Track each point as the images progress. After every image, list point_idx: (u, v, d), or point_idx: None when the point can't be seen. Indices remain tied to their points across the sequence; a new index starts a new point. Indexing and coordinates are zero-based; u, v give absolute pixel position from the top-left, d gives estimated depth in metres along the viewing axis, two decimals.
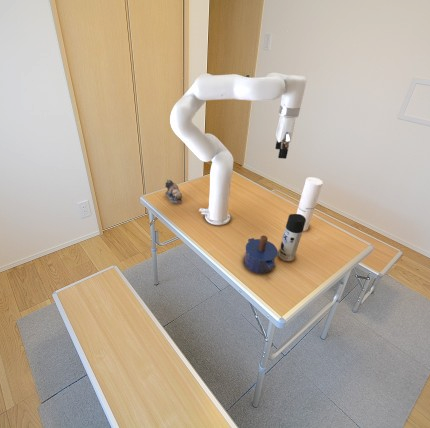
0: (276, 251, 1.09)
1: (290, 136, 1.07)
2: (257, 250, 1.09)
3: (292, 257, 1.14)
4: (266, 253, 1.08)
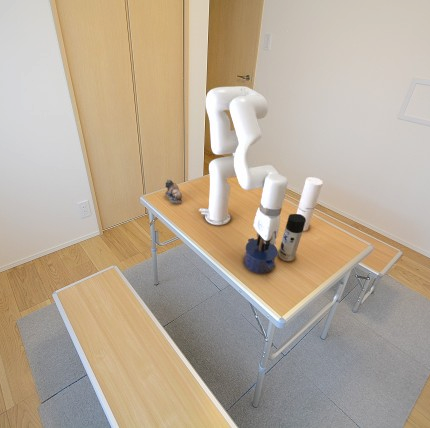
0: (276, 251, 1.09)
1: (277, 233, 1.00)
2: (257, 250, 1.09)
3: (292, 257, 1.14)
4: (266, 252, 1.08)
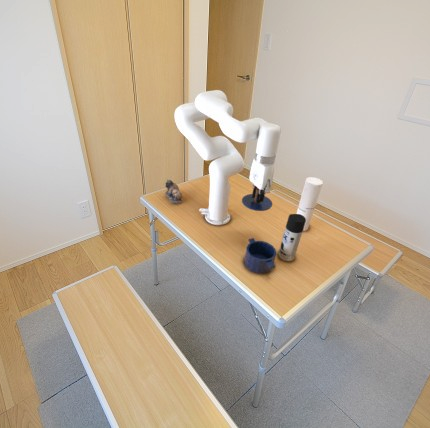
0: (271, 203, 1.15)
1: (271, 182, 1.06)
2: (253, 202, 1.15)
3: (292, 257, 1.14)
4: (261, 204, 1.14)
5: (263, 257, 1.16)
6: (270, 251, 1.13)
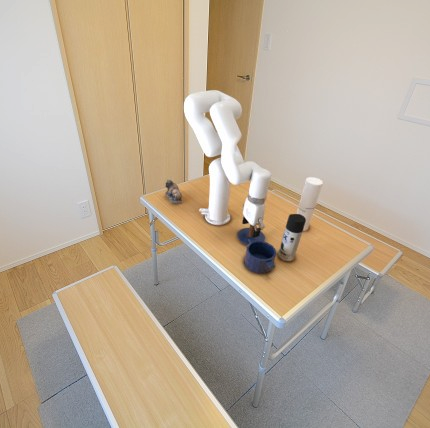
0: (264, 237, 1.26)
1: (262, 219, 1.17)
2: (247, 236, 1.26)
3: (292, 257, 1.14)
4: (255, 239, 1.25)
5: (263, 257, 1.16)
6: (270, 251, 1.13)
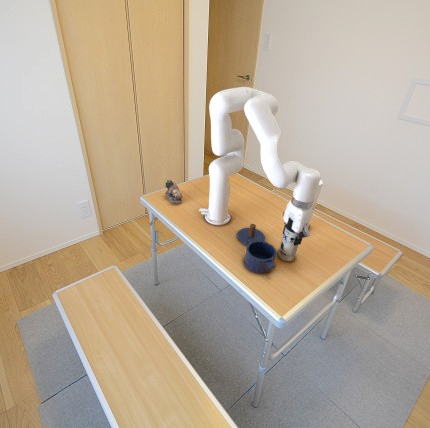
0: (264, 237, 1.26)
1: (308, 225, 1.04)
2: (247, 236, 1.26)
3: (292, 257, 1.14)
4: (255, 239, 1.25)
5: (263, 257, 1.16)
6: (270, 251, 1.13)
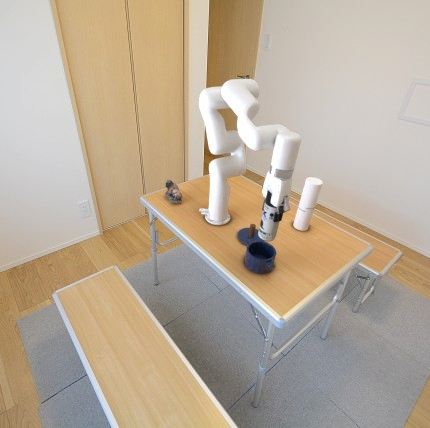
0: None
1: (288, 198, 0.92)
2: (247, 236, 1.26)
3: (273, 236, 1.03)
4: (255, 239, 1.25)
5: (263, 257, 1.16)
6: (270, 251, 1.13)
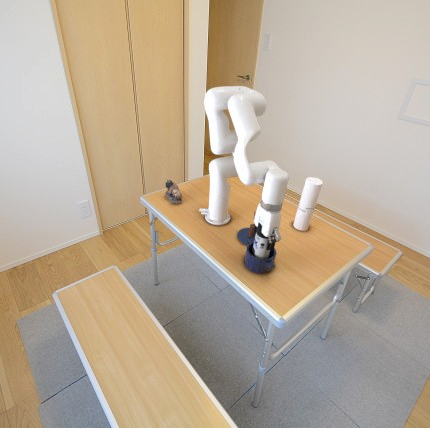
0: None
1: (278, 229, 0.99)
2: (247, 236, 1.26)
3: None
4: None
5: None
6: (270, 251, 1.13)
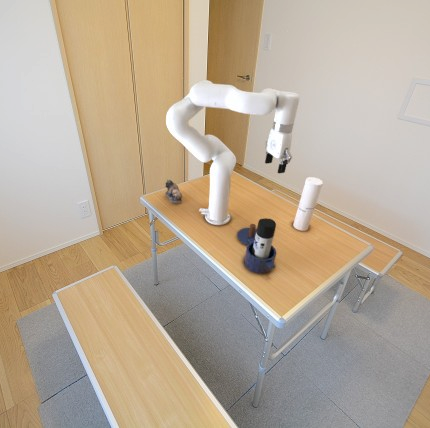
0: None
1: None
2: (247, 236, 1.26)
3: None
4: None
5: None
6: (270, 251, 1.13)
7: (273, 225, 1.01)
